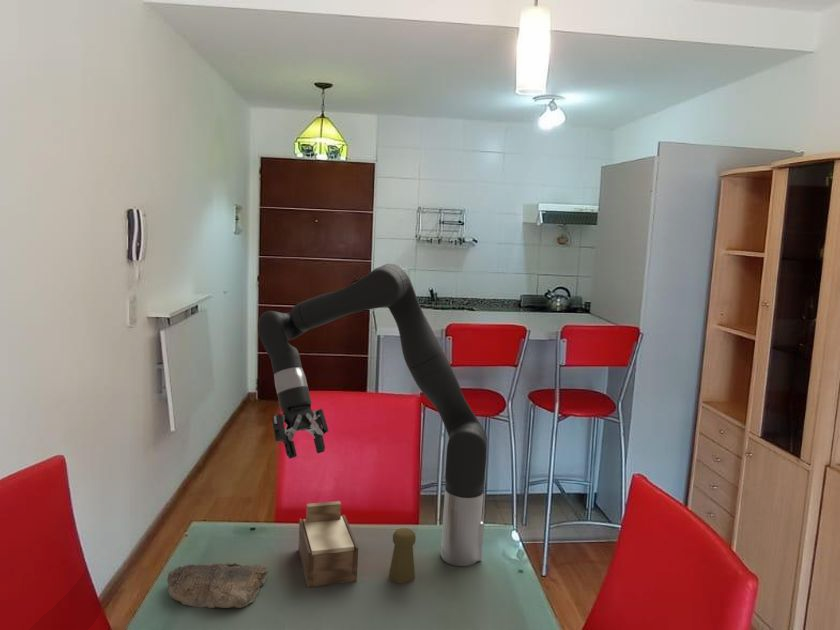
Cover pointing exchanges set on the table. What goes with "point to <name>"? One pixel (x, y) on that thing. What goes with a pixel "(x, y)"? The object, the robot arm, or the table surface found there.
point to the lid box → (327, 562)
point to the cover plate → (326, 529)
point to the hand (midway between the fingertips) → (307, 455)
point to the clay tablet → (216, 584)
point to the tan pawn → (403, 556)
